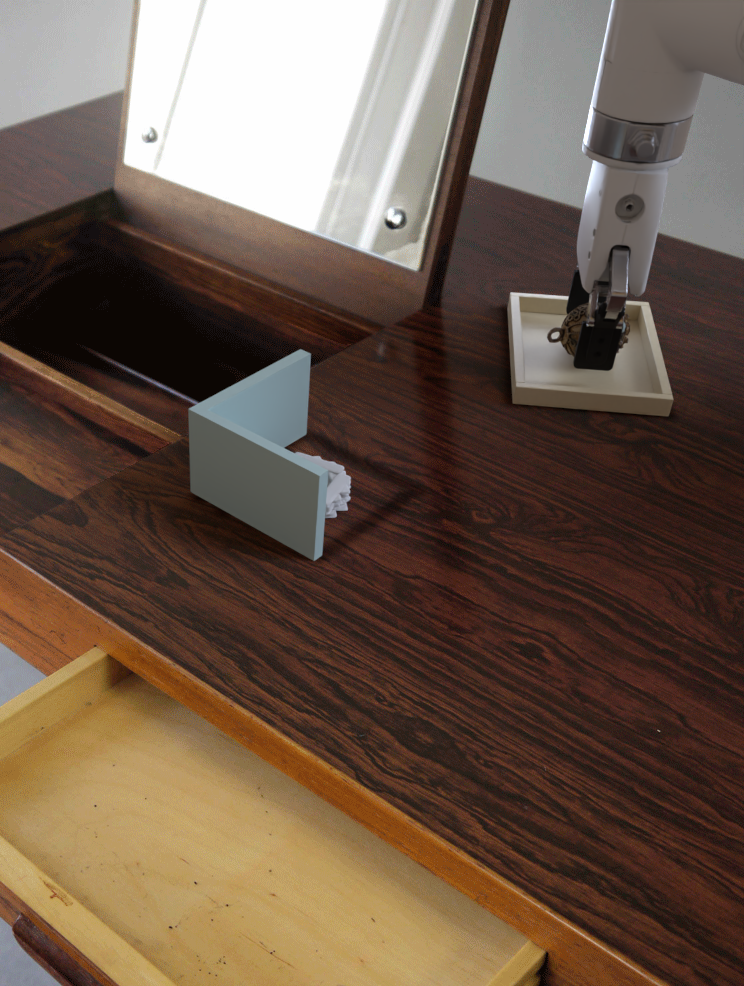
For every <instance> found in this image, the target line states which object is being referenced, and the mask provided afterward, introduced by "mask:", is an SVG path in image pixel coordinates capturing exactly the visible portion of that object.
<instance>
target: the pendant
mask: <svg viewBox="0 0 744 986" xmlns="http://www.w3.org/2000/svg"><path fill="white" fill-rule="evenodd" d="M604 303H606V301H605V302H604ZM588 305H589V303H586V304H583V305H580V306H578V307H577V308H575V309H574V310H572V311H571V312H570V313H569V314H568V315H567V316H566V318H565V319H564V321H563V323H562V326H561V328H560V327H555V328H553V329H551V330H550V331H549V332H548V334H547V339H548V341H549V342H550V343H557V342H559V341H560V342H561V344H562V346H563V348H565V350H566V351H567V353H568V354H569V355H572V356H573V357H574V356H575V352H576V347H577V343H578V338H579V334H580V330H581V325H582V321H587V313H588ZM600 305H601V303H598V304H597V309H598V306H600ZM628 318H629V315H628V314H625V316H624V323H623V330H622V333H621V337H620V341H619V345H618V349H617V353H619V349H622V348H623V345H624V344H625V343H628V338H627V337H626V336H628V334H629V332H630V324H629V323H628V322H626V320H627V319H628ZM555 332H559V333H560V334H559V336H558V338H556V339H552V337H551V335H552V334H553V333H555ZM617 353H616V354H617Z"/></svg>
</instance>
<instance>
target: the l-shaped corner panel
mask: <svg viewBox="0 0 744 986" xmlns="http://www.w3.org/2000/svg"><path fill="white" fill-rule="evenodd" d="M311 359H312V353H311V352H309V351H305V350H304V349H301V348H299V349H298V350H296V351H294V352H291V354H289V355H286V356H284V357H283V358H281V359H278V360H277V361H275V362H273V363H272V364H270V365H268V366H266V367H264V368H262V369H260V370H259V371H256V372H255V373H253V374H251V375H249V376H247V377H245V378H243V379H242V380H240V381H238V382H235V383H234V384H232V385H231V386H228V387H226V388H225V389H223V390H221V391H219V392H217V393H216V394H214V395H212V396H209V397H208V398H206V399H203V400H202V401H200V402H199V403H197V404H194V405H193V406H190V407H189V408H188V409H187V411H188V413H187V414H188V441H189V443H188V448H189V450H188V451H189V452H188V453H189V483H190V486H189V488H190V493H191V494H193V495H195V496H197V497H199V498H201V499H202V500H204V501H206V502H208V503H209V504H212V505H213V506H215V507H217V508H218V509H220V510H222V511H224V512H225V513H227V514H229V515H231V516H232V517H234V518H236V519H237V520H240V521H242V522H243V523H245V524H247V525H249V526H251V527H252V528H254V529H256V530H258V531H260V532H261V533H263V534H264V535H267V536H268V537H270V538H271V539H273V540H275V541H277V542H279V543H281V544H282V545H284V546H287V547H288V548H289V549H291V550H293V551H294V552H297V553H298V554H300V555H302V556H304V557H306V558H308V559H310V560H311V561H313V562H315V561H317V560H318V559H319V558H321V557H322V556H323V551H324V537H325V536H324V535H325V524H326V519H335V518H337V516H338V514H337V512H345V511H348V510H349V507H348V502H350V501H351V498H352V497H351V496H350V494H351V490H350V489H351V488H352V485H351V484H352V477H351V476H350V475H348V474H347V471H346V470H345V466H344V465H341V464H339V463H336V462H335V461H329V460H326V459H322V457H321V456H320V455H313V456H312V455H309V454H306V453H303V452H300V451H295V452H293V451H290V450H289V449H287V448H286V447H288V446H289V445H290V446H291V444H293V443H294V442H296V441H298V440H299V439H301V438H303V437H305V436H306V435H307V433H308V417H309V415H308V413H309V398H310V397H309V396H310V380H311V379H310V378H311Z"/></svg>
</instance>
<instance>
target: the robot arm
mask: <svg viewBox="0 0 744 986" xmlns="http://www.w3.org/2000/svg"><path fill="white" fill-rule="evenodd" d="M705 74H707V75H710V76H713V77H715V78H719V79H723V80H724V81H728V82H731V83H733V84H737V85H740V86H744V0H611V5H610V9H609V14H608V20H607V24H606V30H605V34H604V39H603V44H602V49H601V53H600V59H599V64H598V69H597V73H596V78H595V82H594V87H593V92H592V97H591V103H590V106H589V110H588V111H589V112H588V117H587V122H586V127H585V130H584V136H583V141H582V147H581V150H582V153H583V154H584V155H585V156H587V157H588V158H589V160H592V165H591V169H590V173H589V178H588V182H587V187H586V192H585V196H584V201H583V205H582V210H581V215H580V222H579V226H578V232H577V238H576V239H577V240H576V258H577V261H576V269H574V270H573V275H572V278H571V284H570V288H569V293H568V296H569V297H568V302H567V307H566V312H567V314H569V313H570V312H571V311H572V310H574V309H575V308H577V307H578V306H580V305H583V304H586V303H589V305H588V313H587V321H582V325H581V330H580V334H579V338H578V343H577V347H576V352H575V356H574V360H573V364H574V367H575V368H577V369H589V370H602V371H609V370H611V369H612V368H613V365H614V361H615V357H616V353H617V349H618V345H619V341H620V337H621V333H622V330H623V323H624V316H625V307H626V301H627V299H628V295H633V296H634V297H636V298H639V297H641V296H642V295H643V294H644V293H645V292H646V288H647V283H648V279H649V275H650V269H651V266H652V261H653V256H654V252H655V247H656V242H657V238H658V233H659V229H660V224H661V220H662V213H663V208H664V205H665V204H664V203H665V198H666V197H665V196H666V192H667V191H666V190H667V185H668V177H669V168H673V167H675V166H677V165H678V164H680V163H681V161H682V159H683V155H684V152H685V149H686V146H687V145H686V144H687V141H688V137H689V133H690V129H691V125H692V122H693V118H694V114H695V111H696V107H697V103H698V98H699V95H700V91H701V87H702V84H703V81H704V77H705ZM628 291H629V292H628ZM628 293H629V294H628ZM605 301H606V303H604V302H605ZM598 303H601V305H600V306H598V309H597V304H598Z"/></svg>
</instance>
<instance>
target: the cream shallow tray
mask: <svg viewBox="0 0 744 986" xmlns="http://www.w3.org/2000/svg"><path fill="white" fill-rule="evenodd" d="M568 297H569V295H554V294H553V295H552V294H541V293H527V292H514V291H513V292H512V291H511V292H510V293H509V298H508V302H507V325H508V343H509V362H510V376H511V377H510V379H511V380H510V381H511V394H512V395H511V399H512V401H511V402H512V404H515V405H526V406H527V405H528V406H537V407H550V408H560V409H562V408H564V409H573V410H587V411H598V412H599V411H600V412H610V413H623V414H636V415H647V416H659V417H669V416H670V413H671V410H672V406H673V403H674V396H673V392H672V387H671V383H670V380H669V376H668V373H667V369H666V365H665V360H664V356H663V353H662V349H661V345H660V341H659V337H658V333H657V329H656V326H655V322H654V316H653V314H652V309H651V306H650V302H648V301H639V300H638V301H637V300H626V307H625V314H628V315H629V318H628V319H627V320H626V322H628V323H629V324H630V332H629V334H628V336H626V337H627V338H628V343H625V344H624V345H623V348H622V349H619V353H617V354H616V357H615V361H614V365H613V368H612V369H611V370H609V371H602V370H589V369H577V368H575V367H574V364H573V360H574V357H573V356H572V355H569V354H568V353H567V351H566V350H565V348H563V346H562V344H561V342H560V341H559V342H557V343H550V342H549V341H548V339H547V334H548V332H549V331H550V330H551V329H553V328H555V327H560V328H561V326H562V323H563V321H564V319H565V318H566V316H567V315H568V314H567V312H566V307H567V302H568ZM559 334H560V333H559V332H555V333H553V334H552V335H551V337H552V339H556V338H558V336H559Z"/></svg>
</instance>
